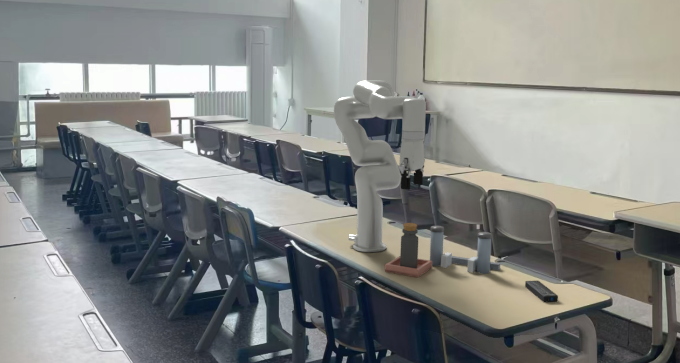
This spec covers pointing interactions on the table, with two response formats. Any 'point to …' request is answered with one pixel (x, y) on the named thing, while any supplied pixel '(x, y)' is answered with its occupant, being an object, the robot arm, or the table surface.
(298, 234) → the table surface
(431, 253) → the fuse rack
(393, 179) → the robot arm
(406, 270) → the tray
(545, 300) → the multiport hub
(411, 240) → the bottle
